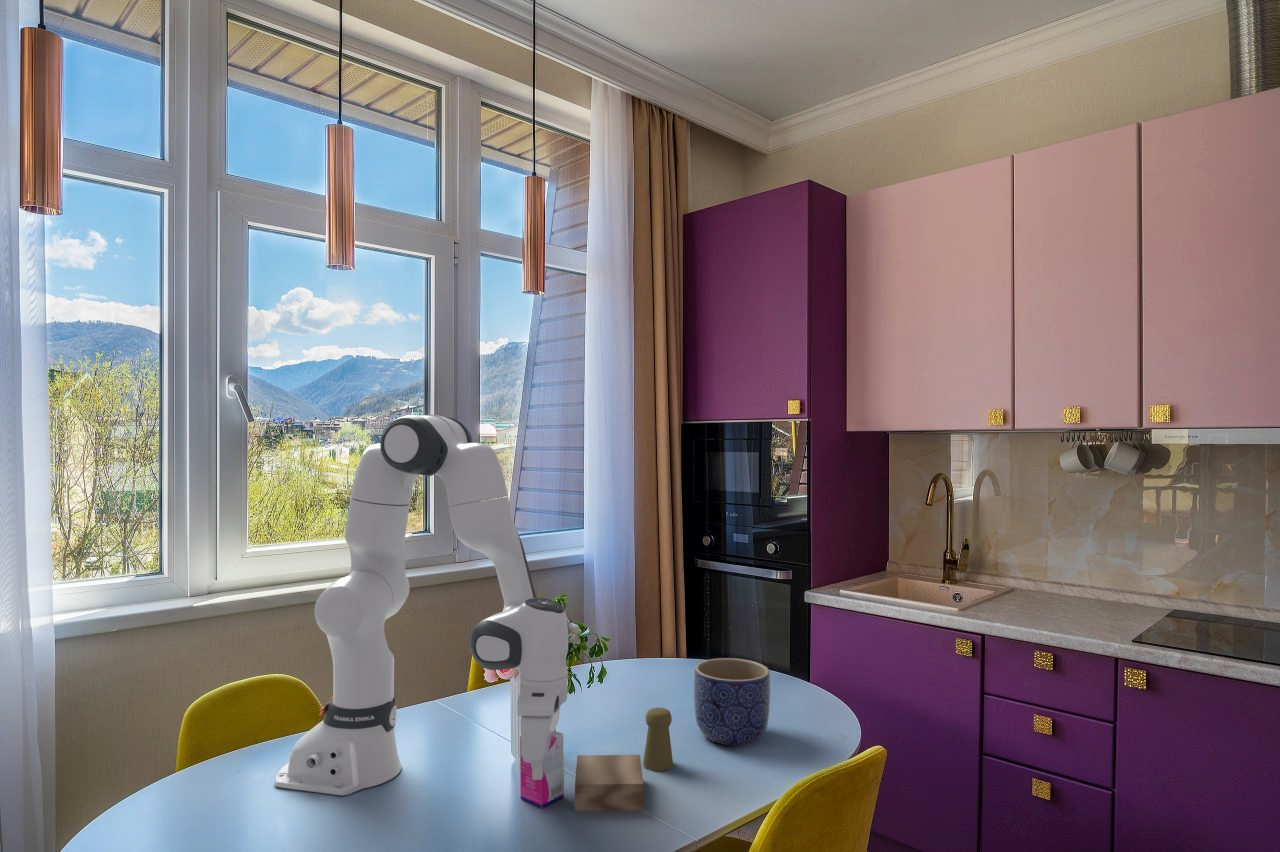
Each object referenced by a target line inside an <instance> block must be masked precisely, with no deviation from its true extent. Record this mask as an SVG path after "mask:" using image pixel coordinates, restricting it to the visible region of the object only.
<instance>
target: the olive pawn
mask: <svg viewBox="0 0 1280 852" xmlns="http://www.w3.org/2000/svg"><path fill="white" fill-rule="evenodd" d="M672 719H673V716H672V713H671V712H670V710H668V709H667V708H664V707H657V706H656V707H652V708H650V709H648V711H647V712H646V714H645V722H646V725H647V733H646V738H645V739H646V740H645V748H644V755H643V762H642V765H643V767H644V769H646V770H649V771H652V772H666V771H670V770H671V769H672V768H673V767H674V763H673V762H674V760H673V753H672V752H673V751H672V744H671V735H670V726H671V724H672Z"/></svg>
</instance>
